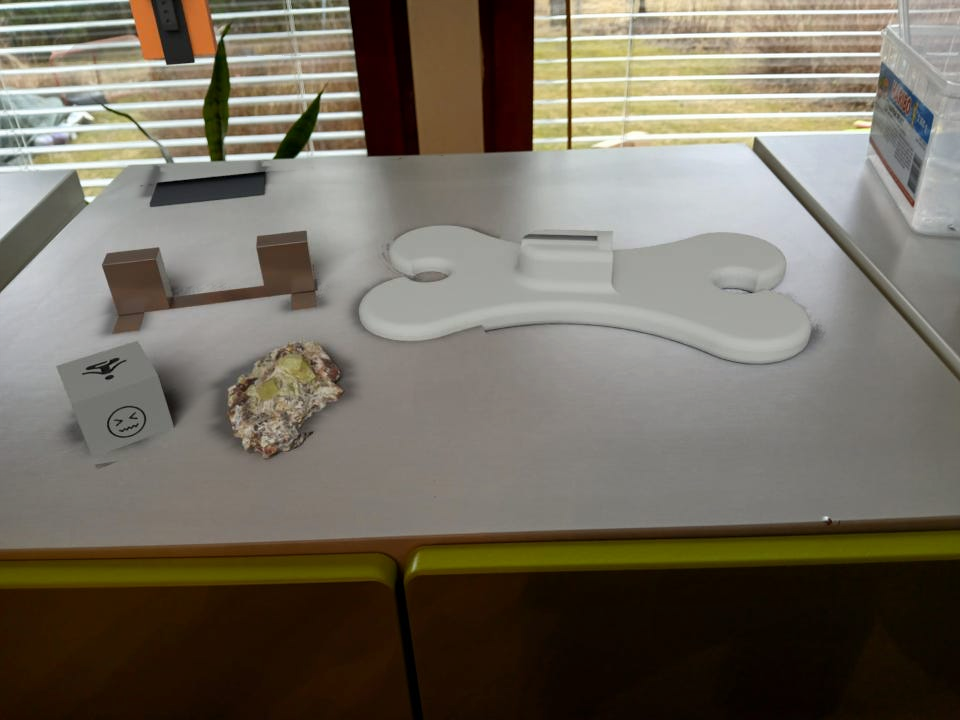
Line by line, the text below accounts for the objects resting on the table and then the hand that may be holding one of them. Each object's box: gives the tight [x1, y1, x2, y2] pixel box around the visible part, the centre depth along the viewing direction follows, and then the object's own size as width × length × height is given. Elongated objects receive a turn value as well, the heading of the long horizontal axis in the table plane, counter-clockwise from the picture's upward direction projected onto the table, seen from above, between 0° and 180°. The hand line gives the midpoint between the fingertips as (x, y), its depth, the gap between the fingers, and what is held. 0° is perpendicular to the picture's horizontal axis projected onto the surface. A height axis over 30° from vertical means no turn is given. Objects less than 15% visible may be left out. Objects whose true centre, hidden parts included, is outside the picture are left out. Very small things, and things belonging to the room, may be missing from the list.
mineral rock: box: [226, 339, 345, 460], centre depth 53 cm, size 11×4×8 cm
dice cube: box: [55, 340, 175, 470], centre depth 51 cm, size 5×5×5 cm
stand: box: [101, 230, 319, 335], centre depth 64 cm, size 8×16×6 cm, turn 102°
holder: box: [358, 224, 813, 365], centre depth 64 cm, size 19×34×5 cm, turn 82°
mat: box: [149, 170, 266, 207], centre depth 91 cm, size 12×12×1 cm
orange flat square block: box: [128, 0, 219, 60], centre depth 79 cm, size 3×7×7 cm, turn 101°
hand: (182, 58), depth 81 cm, fingers closed on orange flat square block, 3 cm apart
